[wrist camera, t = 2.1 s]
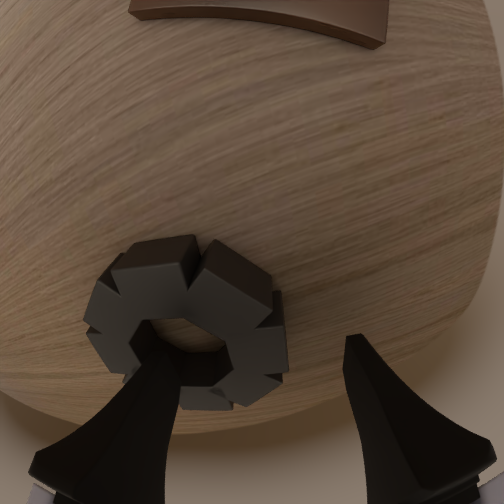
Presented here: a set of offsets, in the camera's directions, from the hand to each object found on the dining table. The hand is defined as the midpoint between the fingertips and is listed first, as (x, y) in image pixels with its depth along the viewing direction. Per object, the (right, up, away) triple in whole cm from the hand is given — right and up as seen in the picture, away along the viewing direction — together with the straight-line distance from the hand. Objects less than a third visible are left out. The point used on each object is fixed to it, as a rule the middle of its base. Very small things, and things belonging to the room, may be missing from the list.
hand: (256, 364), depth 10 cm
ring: (-3, +1, +3) cm, 4 cm away
